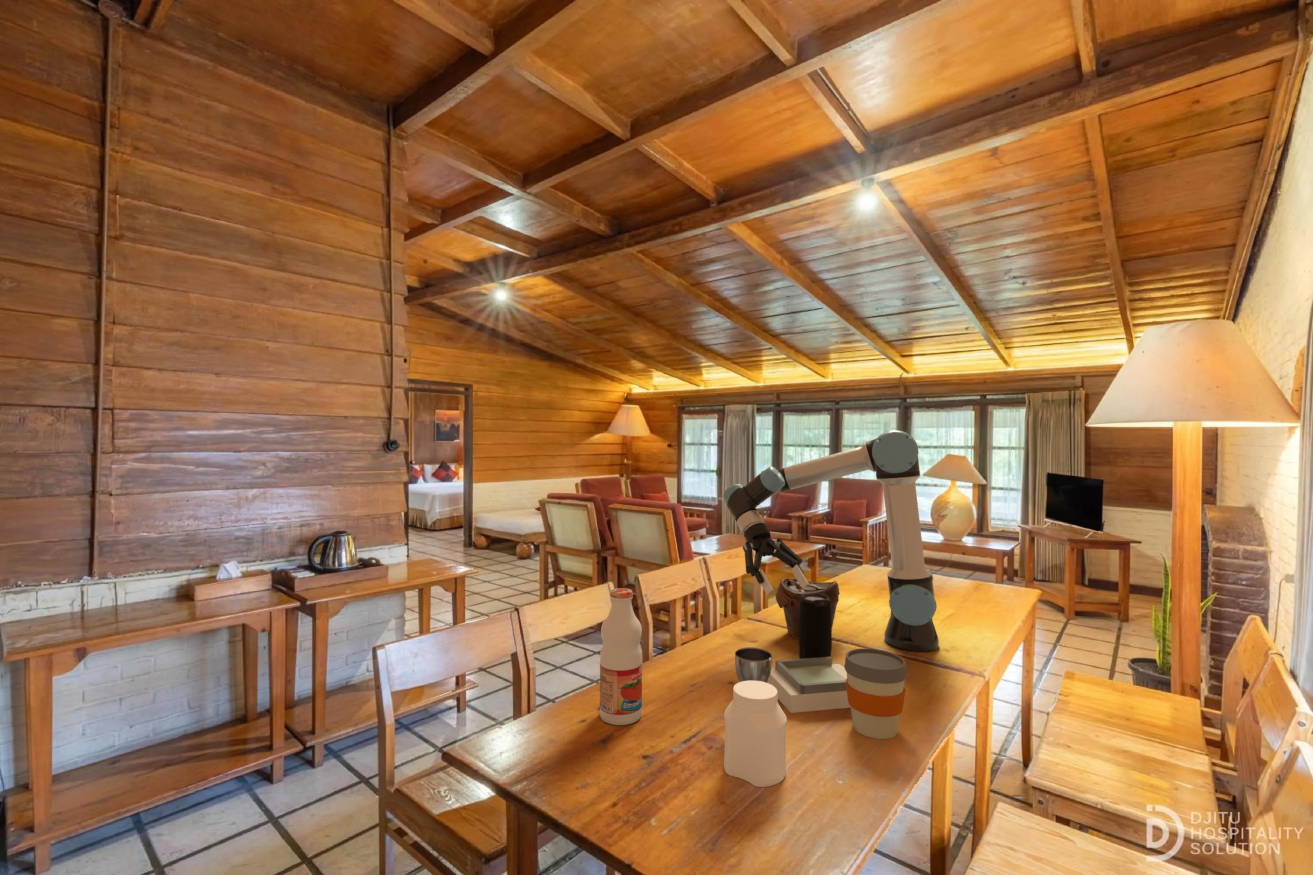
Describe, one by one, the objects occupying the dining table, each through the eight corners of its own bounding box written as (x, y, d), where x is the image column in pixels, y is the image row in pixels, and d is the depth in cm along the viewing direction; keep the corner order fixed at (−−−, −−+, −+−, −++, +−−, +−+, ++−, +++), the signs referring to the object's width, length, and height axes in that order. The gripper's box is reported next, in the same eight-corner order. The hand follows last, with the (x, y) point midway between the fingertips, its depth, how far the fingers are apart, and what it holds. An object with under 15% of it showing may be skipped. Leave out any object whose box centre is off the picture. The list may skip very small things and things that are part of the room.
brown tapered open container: (767, 626, 192) (769, 571, 191) (826, 624, 194) (827, 571, 193) (785, 646, 174) (787, 587, 173) (850, 645, 176) (851, 586, 176)
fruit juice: (610, 703, 136) (611, 583, 136) (648, 710, 133) (648, 587, 132) (592, 722, 127) (593, 593, 127) (632, 729, 124) (633, 598, 124)
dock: (856, 677, 151) (856, 654, 151) (890, 703, 137) (890, 678, 137) (765, 684, 146) (765, 661, 146) (790, 712, 132) (791, 686, 132)
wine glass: (773, 716, 130) (774, 649, 130) (768, 734, 122) (769, 662, 122) (738, 711, 132) (738, 645, 132) (731, 727, 125) (731, 657, 125)
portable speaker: (821, 660, 162) (822, 590, 162) (837, 674, 153) (838, 600, 153) (792, 662, 161) (793, 592, 161) (807, 676, 152) (808, 601, 152)
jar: (794, 768, 110) (794, 688, 110) (770, 792, 102) (771, 707, 102) (740, 748, 117) (741, 673, 117) (715, 769, 109) (715, 689, 109)
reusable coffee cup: (908, 748, 117) (908, 673, 117) (842, 736, 121) (843, 664, 121) (904, 719, 129) (905, 652, 129) (845, 710, 133) (845, 644, 133)
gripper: (778, 533, 187) (812, 590, 174) (715, 539, 174) (748, 602, 161) (790, 518, 183) (826, 576, 170) (727, 524, 170) (761, 587, 157)
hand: (788, 589), depth 166 cm, fingers open, 13 cm apart
